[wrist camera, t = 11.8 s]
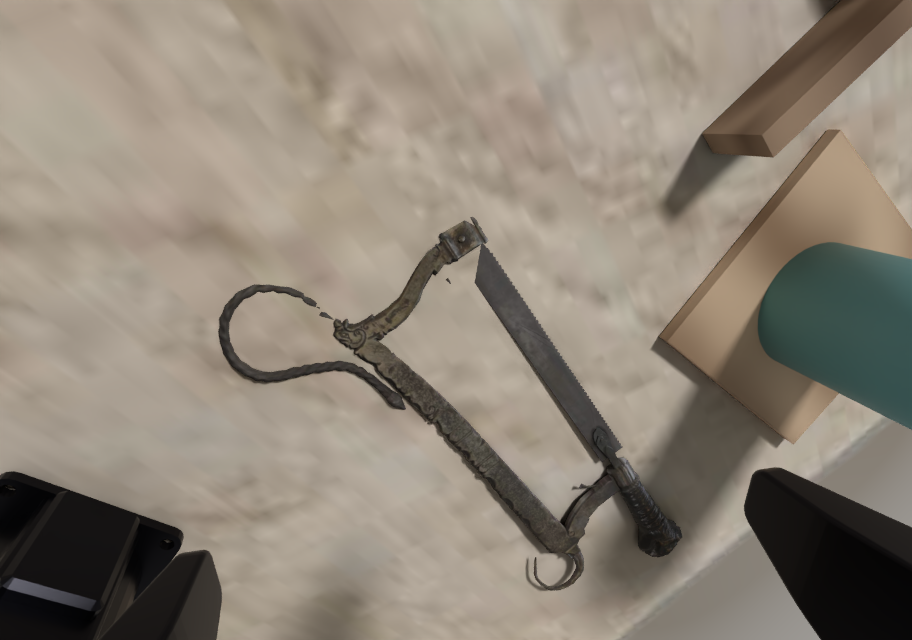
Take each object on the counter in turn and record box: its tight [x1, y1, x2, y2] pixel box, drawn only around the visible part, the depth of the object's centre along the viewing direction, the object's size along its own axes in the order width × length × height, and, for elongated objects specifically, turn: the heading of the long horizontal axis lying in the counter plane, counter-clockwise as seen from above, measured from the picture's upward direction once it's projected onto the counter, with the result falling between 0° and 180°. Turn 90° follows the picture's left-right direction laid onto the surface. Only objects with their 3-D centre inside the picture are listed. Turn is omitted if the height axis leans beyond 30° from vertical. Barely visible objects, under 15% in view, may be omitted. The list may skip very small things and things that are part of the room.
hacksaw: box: [218, 217, 682, 591], centre depth 23 cm, size 24×10×2 cm, turn 34°
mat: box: [659, 130, 912, 444], centre depth 25 cm, size 11×11×1 cm
